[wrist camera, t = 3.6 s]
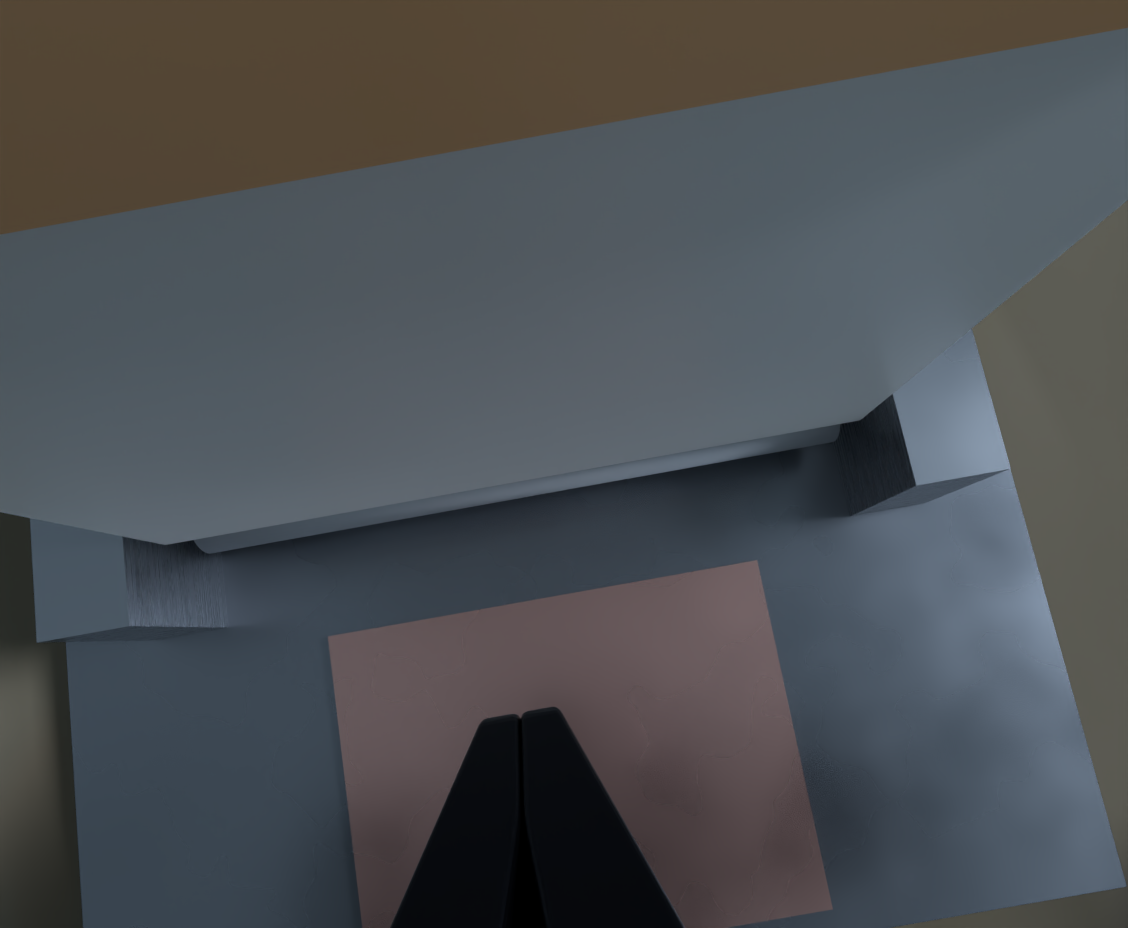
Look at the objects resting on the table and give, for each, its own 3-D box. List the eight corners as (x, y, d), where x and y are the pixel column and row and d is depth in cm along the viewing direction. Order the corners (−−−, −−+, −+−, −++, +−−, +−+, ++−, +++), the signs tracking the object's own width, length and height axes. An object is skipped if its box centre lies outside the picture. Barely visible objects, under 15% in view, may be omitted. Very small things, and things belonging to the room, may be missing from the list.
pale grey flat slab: (829, 471, 16) (2665, -839, 2) (229, 579, 16) (-2636, 177, 2) (798, 346, 16) (2050, -1483, 2) (216, 451, 16) (-2138, -651, 2)
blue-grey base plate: (1094, 870, 16) (1284, 962, 11) (122, 1039, 16) (-60, 1194, 12) (859, 11, 19) (934, -173, 15) (63, 158, 20) (-95, 19, 15)
